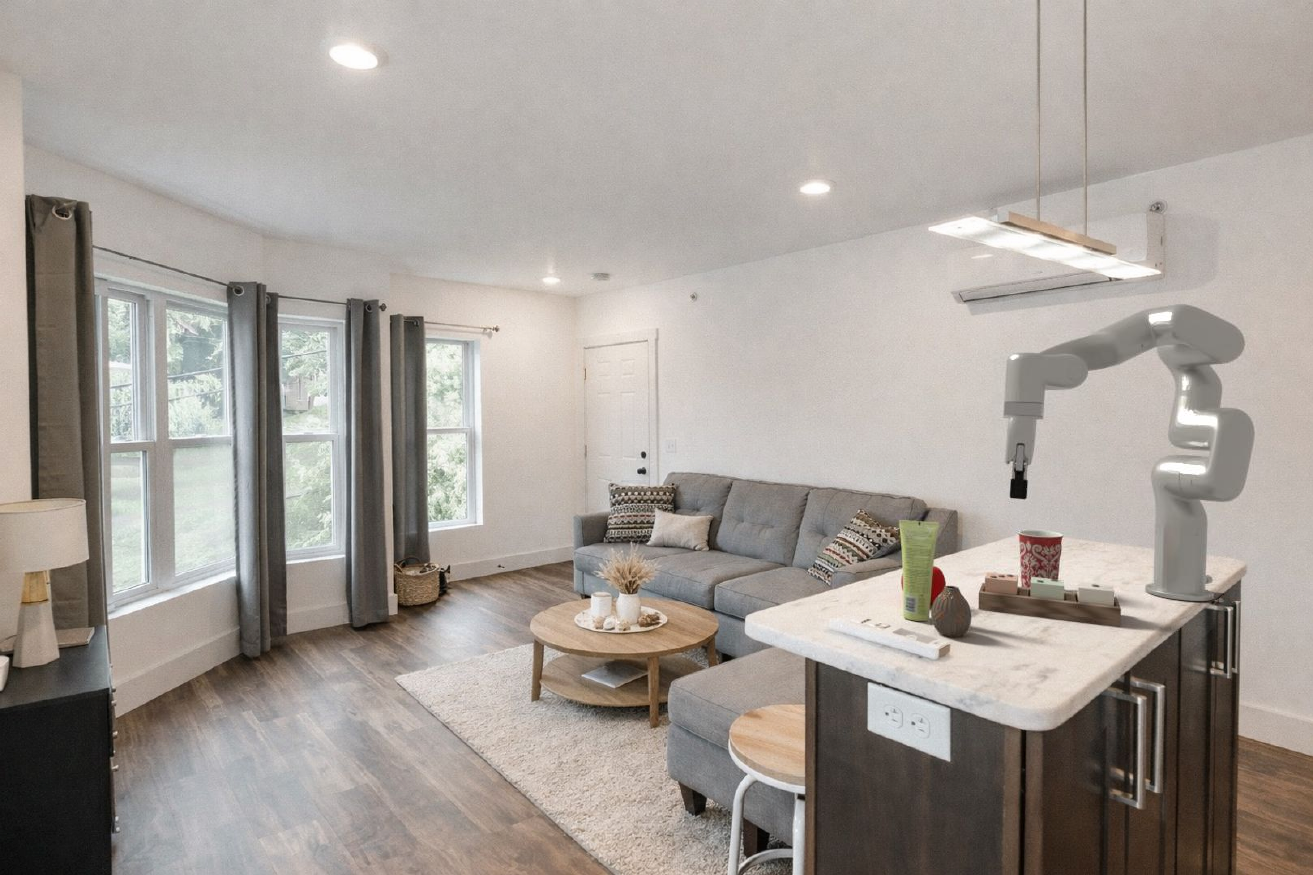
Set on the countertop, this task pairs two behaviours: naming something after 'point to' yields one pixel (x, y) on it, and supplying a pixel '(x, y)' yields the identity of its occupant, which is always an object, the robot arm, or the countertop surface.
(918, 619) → the tube
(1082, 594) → the tile one
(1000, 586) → the tile three
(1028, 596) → the wooden compartment tray
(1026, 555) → the mug
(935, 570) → the fruit
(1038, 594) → the tile two
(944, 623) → the vase
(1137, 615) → the countertop surface
